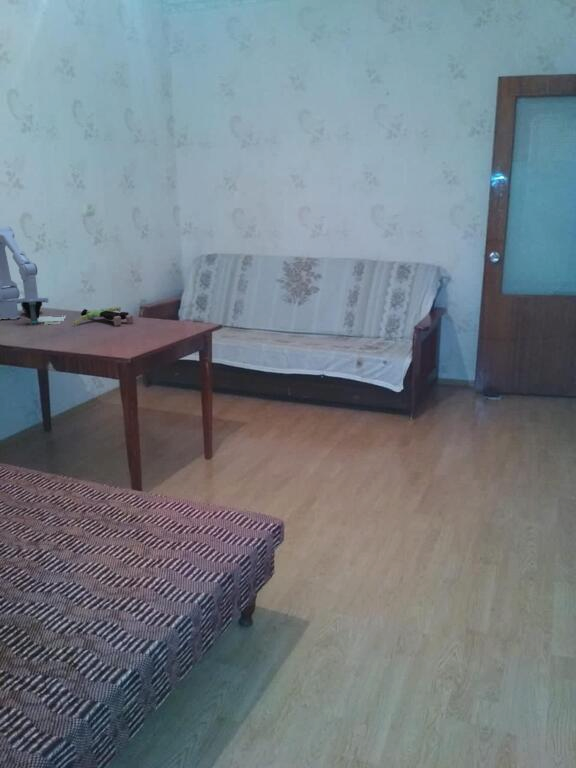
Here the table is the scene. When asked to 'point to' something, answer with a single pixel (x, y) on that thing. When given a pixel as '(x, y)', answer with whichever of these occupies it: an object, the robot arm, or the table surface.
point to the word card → (51, 323)
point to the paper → (50, 319)
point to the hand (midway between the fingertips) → (33, 318)
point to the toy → (106, 315)
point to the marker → (33, 314)
